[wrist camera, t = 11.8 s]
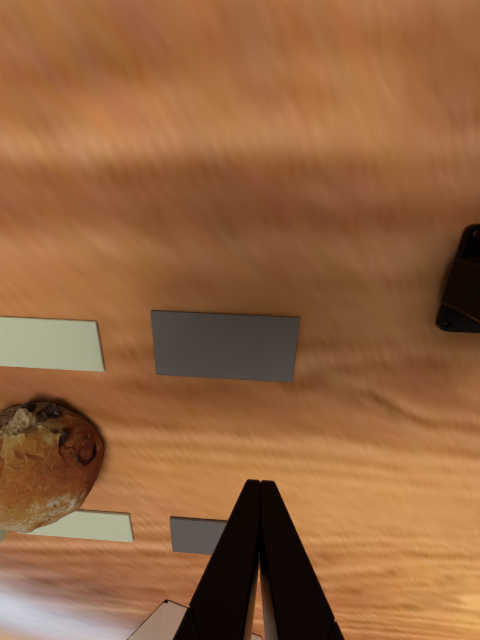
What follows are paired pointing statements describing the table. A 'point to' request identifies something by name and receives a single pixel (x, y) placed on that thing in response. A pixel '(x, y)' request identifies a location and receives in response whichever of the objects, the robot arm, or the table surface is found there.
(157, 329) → the trap lane
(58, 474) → the bread roll
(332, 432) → the table surface
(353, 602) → the table surface
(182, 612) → the gable box
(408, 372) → the table surface
